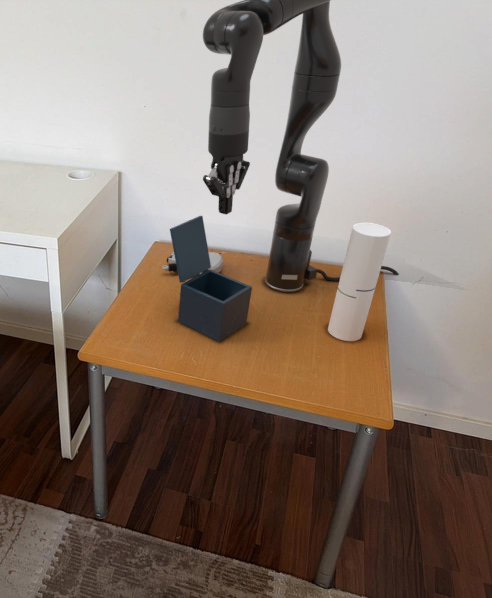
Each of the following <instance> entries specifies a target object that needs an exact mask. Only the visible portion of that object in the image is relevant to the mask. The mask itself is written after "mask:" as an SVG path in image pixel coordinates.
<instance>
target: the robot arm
mask: <svg viewBox="0 0 492 598" xmlns="http://www.w3.org/2000/svg"><path fill="white" fill-rule="evenodd" d="M330 4H331V0H240V1H237V2H234V3H232V4H229V5H225V6H224V7H221V8H219V9H217V10H216V11H214V12H213V14H211V15H210V16H209V17H208V19H207V20H206V22H205V24H204V26H203V30H202V40H203V41H202V42H203V44H204V46H205V47H206V48H207V50H208V51H210V52H212V53H214V54H218V55H227V56H228V55H230V59H229V62H228V66H227V67H223V68H219V69H217V70H215V71H214V72H213V74H212V76H211V81H210V106H209V107H210V108H209V113H208V141H207V143H208V144H207V151H208V153H209V154H210V155H211V156H212V157H211V158H212V160H211V164H210V168H211V170H210V172H209V173H208V174H205V175H203V177H202V181H203V183H204V184H205V186H206V187H207V189H208V190H209V193H210V194H211V196H216V197H218V206H217V207H218V213H219V214H222V215H229V214H230V213H232V211H233V201H234V195H235V194H236V190H238V191H239V190H241V187H242V185H243V182H244V180H245V177H246V175H247V172H248V170H249V168H250V165H251V162H250V161H247V160H245V159H244V155H245V154H246V153H248V151H249V137H250V136H249V135H250V120H251V111H250V110H251V109H250V98H251V97H250V96H251V80H252V76H253V73H254V71H255V67H256V64H257V61H258V57H259V54H260V52H261V51H260V50H261V48H262V46H263V45H262V44H263V41H264V36H267V35H270V34H271V33H273V32H275V31H277V30H278V29H280V28H282V27H283V26H284V25H286V24H288V23H289V22H290V21H292V20H294V19H295V18H297V17H299V16H300V15H302V17H301V28H300V29H301V30H300V36H299V44H298V49H297V54H296V55H297V56H296V62H295V66H294V72H293V78H292V85H291V93H290V100H289V108H288V114H287V120H286V126H285V131H284V134H283V139H282V143H281V147H280V151H279V155H278V159H277V163H276V168H275V173H274V174H275V175H274V184H275V187H276V189H277V190H278V191H280V192H283V193H285V194H290V195H294V196H296V197H300V201H299V203H290V204H289V203H288V204H285V205H281V206H280V207H279V208H278V209H277V210H276V214H275V220H274V225H273V231H272V239H271V245H270V251H269V257H268V263H267V268H266V274H265V277H264V283H265V285H266V286H267V287H268V288H270V289H271V290H274V291H276V292H281V293H296V292H300V291H301V290H302V289H303V287H304V285H306V283H307V281H311V280H314V279H316V278H317V274H320V275H321V276H322V277H323V279H325V280H327V281H330V282H339V281H340V277H341V276H339V277H332V276H329V275H327V273H326V272H325V271H324V270H322V269H319V268H317V267H314V266H312V265H310V264H311V259H312V254H313V251H312V249H311V246H312V241H313V237H314V232H315V227H316V223H317V218H318V215H319V213H320V209H321V205H322V201H323V197H324V193H325V190H326V185H327V182H328V178H329V173H330V168H329V167H330V166H329V163H328V161H327V160H325V159H323V158H321V157H320V158H319V157H315V156H311V155H307V154H302V147H303V144H304V141H305V138H306V136H307V134H308V132H309V131H310V129H311V128H312V126H313V125H314V124H315V123H316V122H317V121H318V120H319V118H320V117H321V116H322V115H323V114H324V113H325V112H326V111H327V109H328V108H330V106H331V105H332V104H333V101H335V98H336V95H337V91H338V87H339V81H340V76H341V70H342V59H341V54H340V51H339V48H338V44H337V42H336V39H335V36H334V34H333V30H332V27H331V22H330V21H331V20H330ZM381 270H383V271H388V272H389V273H392V274H393V275H395V276H399V274H400V273H399V272H398V271H397V270H396V269H394V268H393V267H390V266H387V265H386V266H385V265H382V266H381Z"/></svg>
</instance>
